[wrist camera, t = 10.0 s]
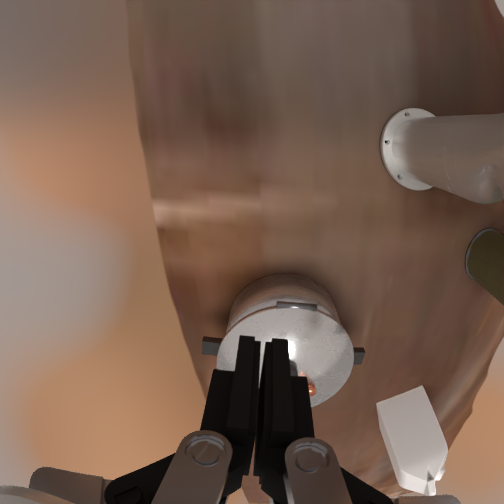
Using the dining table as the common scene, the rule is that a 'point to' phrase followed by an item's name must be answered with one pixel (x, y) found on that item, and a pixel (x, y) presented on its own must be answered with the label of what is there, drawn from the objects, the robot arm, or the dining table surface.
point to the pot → (268, 294)
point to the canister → (487, 262)
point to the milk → (413, 440)
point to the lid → (297, 345)
